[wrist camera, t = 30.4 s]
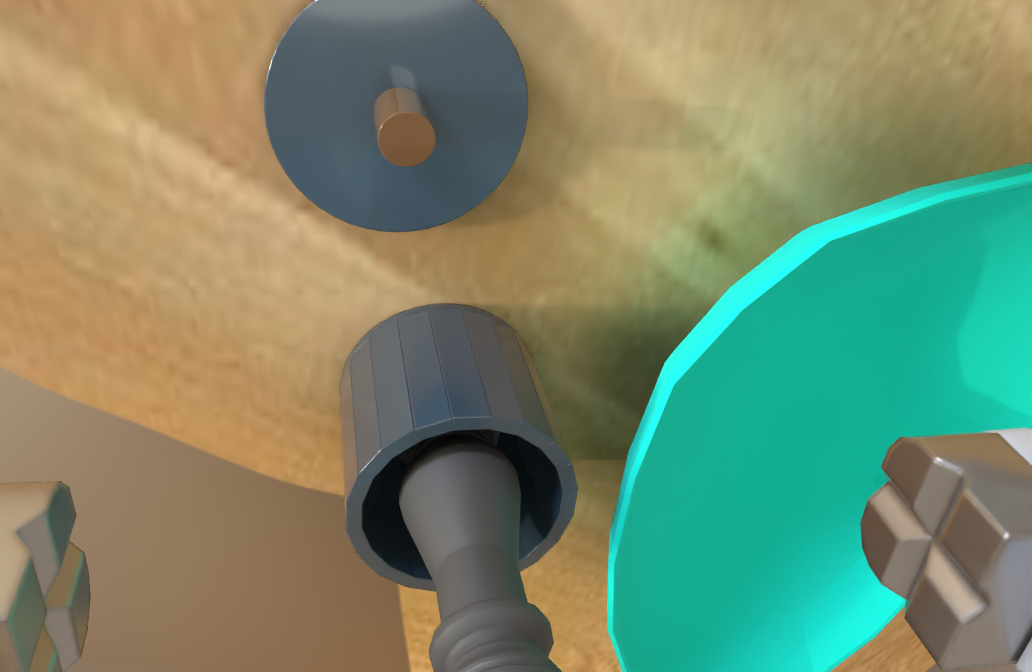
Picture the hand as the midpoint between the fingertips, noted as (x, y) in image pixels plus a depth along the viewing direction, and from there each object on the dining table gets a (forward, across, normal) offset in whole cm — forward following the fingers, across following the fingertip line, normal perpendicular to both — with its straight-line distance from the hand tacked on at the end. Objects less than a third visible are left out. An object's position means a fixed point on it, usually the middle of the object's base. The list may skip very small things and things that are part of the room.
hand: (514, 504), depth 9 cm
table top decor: (+37, -29, +23) cm, 53 cm away
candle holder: (+37, -5, +24) cm, 44 cm away
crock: (+37, -5, +25) cm, 45 cm away
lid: (+36, -2, +8) cm, 37 cm away
